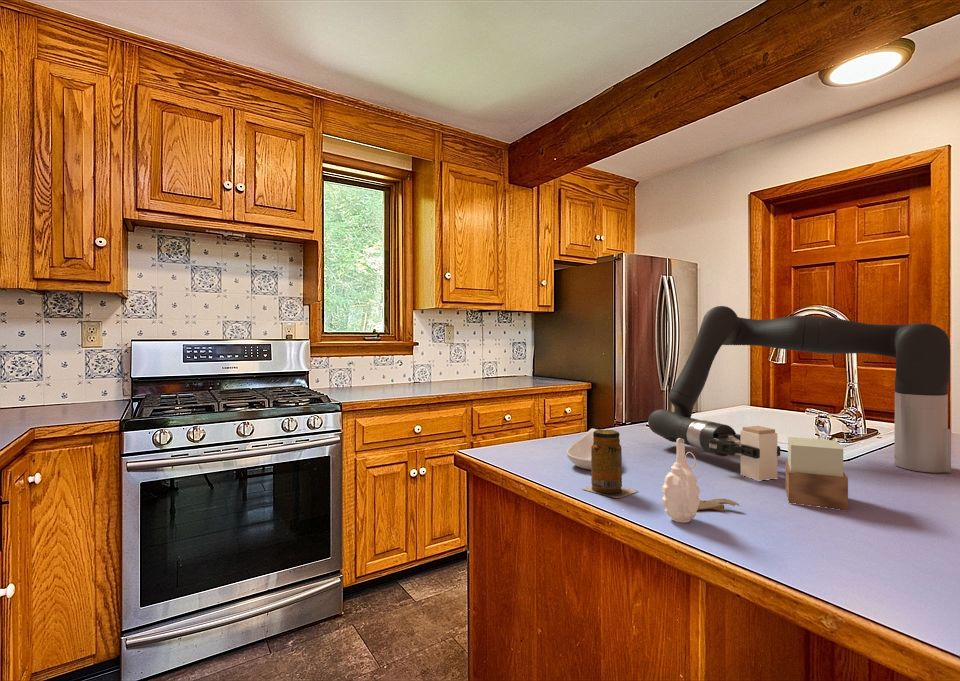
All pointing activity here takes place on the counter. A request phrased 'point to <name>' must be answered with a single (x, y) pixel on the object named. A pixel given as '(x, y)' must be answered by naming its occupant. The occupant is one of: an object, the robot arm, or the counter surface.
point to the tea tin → (768, 453)
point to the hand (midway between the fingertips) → (768, 452)
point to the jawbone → (715, 504)
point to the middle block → (815, 456)
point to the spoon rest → (582, 451)
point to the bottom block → (816, 489)
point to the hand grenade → (681, 488)
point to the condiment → (607, 465)
